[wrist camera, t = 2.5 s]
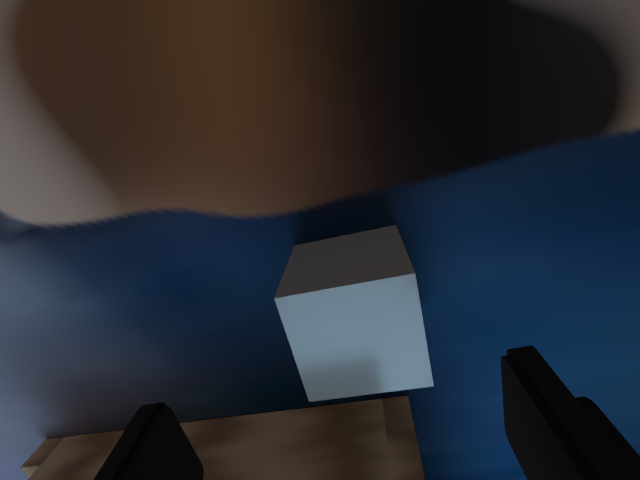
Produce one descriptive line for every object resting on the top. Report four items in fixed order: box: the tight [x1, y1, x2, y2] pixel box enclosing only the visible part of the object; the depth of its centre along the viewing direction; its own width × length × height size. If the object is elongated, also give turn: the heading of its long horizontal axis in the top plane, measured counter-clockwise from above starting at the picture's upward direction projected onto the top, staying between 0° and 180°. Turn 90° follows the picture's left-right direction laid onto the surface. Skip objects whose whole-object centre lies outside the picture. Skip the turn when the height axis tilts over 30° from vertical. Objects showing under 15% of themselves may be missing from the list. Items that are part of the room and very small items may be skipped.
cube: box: [274, 225, 434, 402], centre depth 15 cm, size 5×5×5 cm
